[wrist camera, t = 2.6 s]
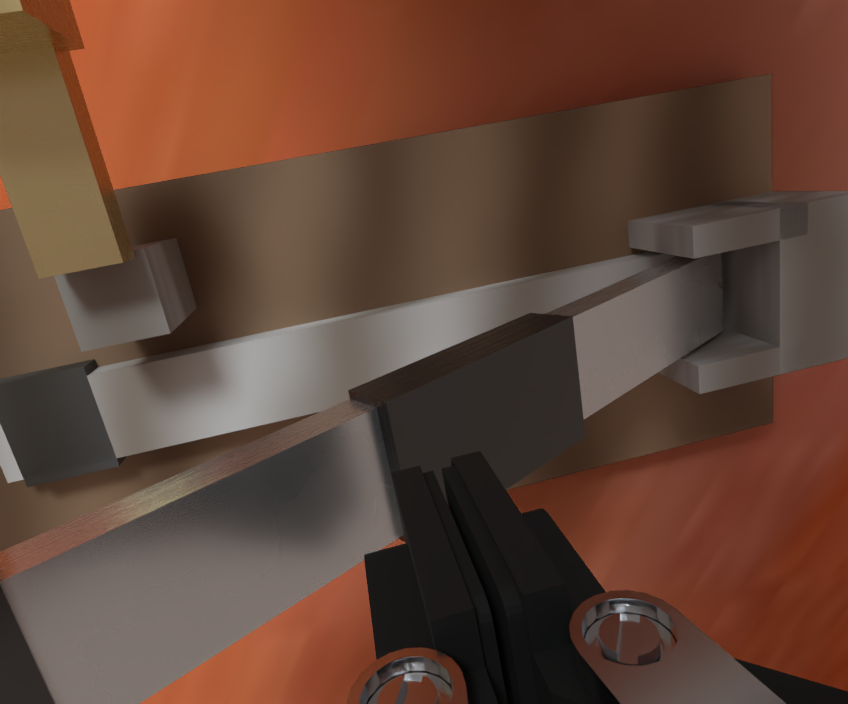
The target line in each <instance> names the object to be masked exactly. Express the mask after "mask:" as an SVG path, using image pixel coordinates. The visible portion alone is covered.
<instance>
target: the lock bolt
mask: <svg viewBox="0 0 848 704" xmlns="http://www.w3.org/2000/svg"><path fill="white" fill-rule="evenodd" d="M77 49H84V45H83V42H82V38H81V35H80V32H79V29H78V26H77V22H76V19H75V16H74V13H73V10H72V6H71V3H70V0H0V176H1V178H2V181H3V184H4V186H5V189H6V192H7V194H8V197H9V200H10V202H11V205H12V208H13V211H14V213H15V216H16V219H17V221H18V224H19V227H20V229H21V232H22V235H23V238H24V240H25V243H26V246H27V248H28V251H29V254H30V256H31V259H32V262H33V265H34V267H35V270H36V273H37V275H38V278H39V279H40V278H45V277H51V276H56V275H61V274H66V273H72V272H77V271H82V270H87V269H93V268H98V267H103V266H108V265H113V264H119V263H124V262H126V261H129V260H132V259H135V256H134V253H133V250H132V247H131V243H130V240H129V237H128V234H127V231H126V228H125V225H124V222H123V218H122V215H121V212H120V209H119V206H118V203H117V200H116V196H115V193H114V190H113V187H112V184H111V181H110V178H109V174H108V171H107V168H106V165H105V162H104V159H103V156H102V153H101V149H100V146H99V143H98V140H97V137H96V134H95V131H94V127H93V124H92V121H91V118H90V115H89V112H88V109H87V106H86V102H85V99H84V96H83V93H82V90H81V87H80V84H79V80H78V77H77V74H76V71H75V68H74V65H73V62H72V59H71V55H70V52H69V51H71V50H77Z"/></svg>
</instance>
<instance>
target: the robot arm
mask: <svg viewBox="0 0 848 704" xmlns="http://www.w3.org/2000/svg"><path fill="white" fill-rule="evenodd" d="M391 475H392V480H393V485H394V490H395V494H396V499H397V504H398V508H399V513H400V518H401V522H402V527H403V531H404V536H405V541H406V544H402V545H399V546H395V547H391V548H387V549H383V550H379V551H375V552H372V553H368V554H364V560H365V568H366V576H367V585H368V593H369V601H370V609H371V617H372V625H373V634H374V642H375V650H376V658H377V660H376V661H374V662H373V663H372V664H371V665H370V666H368V667H367V668H366V669H365V670H364V671H363V672H362V673H361V674H360V675H359V677H358V678H357V680H356V681H355V683H354V684H353V686H352V687H351V690H350V694H349V697H348V700H347V704H848V692H847V691H844V690H840V689H837V688H833V687H830V686H827V685H823V684H820V683H816V682H813V681H809V680H806V679H803V678H799V677H796V676H792V675H789V674H786V673H782V672H779V671H775V670H772V669H769V668H765V667H762V666H758V665H755V664H752V663H748V662H745V661H741V660H738V659H734V658H733V657H732V656H730V655H729V654H728V653H727V652H726V651H725V650H723V649H722V648H721V647H720V646H719V645H718V644H716V643H715V642H714V641H713V640H712V639H711V638H710V637H708V636H707V635H706V634H705V633H704V632H703V631H701V630H700V629H699V628H698V627H697V626H696V625H694V624H693V623H692V622H691V621H690V620H689V619H687V618H686V617H685V616H684V615H683V614H682V613H681V612H679V611H678V610H677V609H676V608H674V607H673V606H671V605H670V604H668V603H667V602H665V601H664V600H662V599H660V598H657V597H655V596H652V595H649V594H647V593H642V592H636V591H630V590H621V591H608V592H605V590H604V589H603V588H602V586H601V585H600V584H599V582H598V581H597V580H596V578H595V577H594V575H593V574H592V573H591V571H590V570H589V569H588V567H587V566H586V565H585V563H584V562H583V560H582V559H581V558H580V556H579V555H578V554H577V552H576V551H575V550H574V548H573V547H572V545H571V544H570V543H569V541H568V540H567V539H566V537H565V536H564V535H563V533H562V532H561V531H560V529H559V528H558V526H557V525H556V524H555V522H554V521H553V520H552V518H551V517H550V516H549V514H548V513H547V512H546V511H545V510H544V509H537V510H533V511H530V512H526V513H522V514H521V513H520V512H519V510H518V508H517V507H516V505H515V504H514V502H513V501H512V499H511V498H510V496H509V494H508V493H507V491H506V490H505V488H504V487H503V485H502V484H501V482H500V481H499V479H498V477H497V476H496V474H495V473H494V471H493V470H492V468H491V467H490V465H489V464H488V462H487V460H486V459H485V457H484V456H483V454H482V453H481V452H480V451H477V452H473V453H469V454H465V455H461V456H457V457H453V458H451V466H449V467H445V468H442V476H443V482H444V487H445V492H446V497H447V502H446V500H445V497H444V495H443V493H442V490H441V488H440V485H439V483H438V481H437V478H436V476H435V474H434V471H429V472H425V473H423V472H422V470H421V467H420V466H416V467H412V468H408V469H404V470H400V471H396V472H391ZM447 503H448V504H447Z"/></svg>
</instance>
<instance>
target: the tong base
mask: <svg viewBox="0 0 848 704" xmlns="http://www.w3.org/2000/svg"><path fill="white" fill-rule="evenodd" d="M114 193H115V196H116V200H117V203H118V206H119V209H120V212H121V215H122V218H123V222H124V225H125V228H126V231H127V234H128V237H129V240H130V243H131V247H132V250H133V253H134V256H135V259H132V260H129V261H126V262H124V263H119V264H113V265H108V266H103V267H98V268H93V269H87V270H82V271H77V272H72V273H66V274H61V275H56V276H51V277H45V278H40V279H39V278H38V275H37V273H36V270H35V267H34V265H33V262H32V259H31V256H30V254H29V251H28V248H27V246H26V243H25V240H24V238H23V235H22V232H21V229H20V227H19V224H18V221H17V219H16V216H15V213H14V211H13V208H9V209H4V210H0V552H1V551H3V550H5V549H8V548H10V547H12V546H14V545H17V544H19V543H21V542H24V541H26V540H28V539H30V538H33V537H35V536H37V535H40V534H42V533H44V532H46V531H49V530H51V529H53V528H56V527H58V526H60V525H63V524H65V523H67V522H69V521H72V520H74V519H76V518H79V517H81V516H83V515H85V514H88V513H90V512H92V511H95V510H97V509H99V508H101V507H104V506H106V505H108V504H111V503H113V502H115V501H117V500H120V499H122V498H124V497H127V496H129V495H131V494H133V493H136V492H138V491H140V490H143V489H145V488H147V487H150V486H152V485H154V484H156V483H159V482H161V481H163V480H166V479H168V478H170V477H172V476H175V475H177V474H179V473H182V472H184V471H186V470H188V469H191V468H193V467H195V466H198V465H200V464H202V463H204V462H207V461H209V460H211V459H214V458H216V457H218V456H220V455H223V454H225V453H227V452H230V451H232V450H234V449H237V448H239V447H241V446H243V445H246V444H248V443H250V442H253V441H255V440H257V439H259V438H262V437H264V436H266V435H269V434H271V433H273V432H275V431H278V430H280V429H282V428H285V427H287V426H289V425H291V424H294V423H296V422H298V421H301V420H303V419H305V418H307V417H310V416H312V415H314V414H317V413H319V412H321V411H324V410H326V409H328V408H330V407H333V406H335V405H337V404H340V403H342V402H344V401H346V400H349V399H350V397H349V393H348V390H350V389H352V388H355V387H357V386H359V385H362V384H364V383H366V382H369V381H371V380H374V379H376V378H378V377H381V376H383V375H385V374H388V373H390V372H392V371H395V370H397V369H399V368H402V367H404V366H406V365H409V364H411V363H413V362H416V361H418V360H420V359H423V358H425V357H428V356H430V355H432V354H435V353H437V352H439V351H442V350H444V349H446V348H449V347H451V346H453V345H456V344H458V343H460V342H463V341H465V340H467V339H470V338H472V337H475V336H477V335H479V334H482V333H484V332H486V331H489V330H491V329H493V328H496V327H498V326H500V325H503V324H505V323H507V322H510V321H512V320H514V319H517V318H519V317H522V316H524V315H526V314H529V313H539V314H546V313H548V312H550V311H552V310H555V309H557V308H559V307H562V306H564V305H566V304H568V303H571V302H573V301H575V300H578V299H580V298H582V297H585V296H587V295H589V294H591V293H594V292H596V291H598V290H601V289H603V288H605V287H607V286H610V285H612V284H614V283H617V282H619V281H621V280H623V279H626V278H628V277H630V276H633V275H635V274H637V273H639V272H642V271H644V270H646V269H649V268H651V267H653V266H656V265H658V264H660V263H662V262H665V261H667V260H669V259H672V258H674V257H676V256H681V257H686V258H692V259H695V258H700V257H704V256H709V255H714V254H718V253H722V266H723V301H724V330H723V331H722V332H720V333H719V334H717V335H715V336H714V337H712V338H711V339H709V340H708V341H706V342H705V343H703V344H701V345H700V346H698V347H697V348H695V349H694V350H692V351H690V352H689V353H687V354H686V355H684V356H683V357H681V358H679V359H678V360H676V361H675V362H673V363H672V364H670V365H669V366H667V367H665V368H664V369H662V370H661V371H659V372H658V373H656V374H654V375H653V376H651V377H650V378H648V379H647V380H645V381H643V382H642V383H640V384H639V385H637V386H636V387H634V388H633V389H631V390H629V391H628V392H626V393H625V394H623V395H622V396H620V397H618V398H617V399H615V400H614V401H612V402H611V403H609V404H607V405H606V406H604V407H603V408H601V409H600V410H598V411H597V412H595V413H593V414H592V415H590V416H589V417H587V418H586V419H584V428H585V437H584V438H583V439H581V440H580V441H578V442H577V443H575V444H574V445H572V446H571V447H569V448H568V449H566V450H565V451H563V452H562V453H560V454H559V455H557V456H556V457H554V458H553V459H551V460H550V461H548V462H547V463H545V464H544V465H542V466H541V467H539V468H538V469H536V470H535V471H533V472H532V473H530V474H529V475H527V476H526V477H524V478H523V479H521V480H520V481H518V482H517V483H515V484H514V485H512V486H511V487H509V488H508V489H506V490H509V489H513V488H517V487H521V486H525V485H529V484H533V483H537V482H541V481H545V480H549V479H553V478H557V477H561V476H565V475H569V474H572V473H576V472H580V471H584V470H588V469H592V468H596V467H600V466H604V465H608V464H612V463H616V462H620V461H624V460H628V459H632V458H635V457H639V456H643V455H647V454H651V453H655V452H659V451H663V450H667V449H671V448H675V447H679V446H683V445H687V444H691V443H695V442H698V441H702V440H706V439H710V438H714V437H718V436H722V435H726V434H730V433H734V432H738V431H742V430H746V429H750V428H754V427H757V426H761V425H765V424H769V423H773V376H776V375H780V374H784V373H789V372H793V371H797V370H801V369H805V368H809V367H813V366H817V365H821V364H826V363H830V362H834V361H838V360H842V359H846V358H848V191H772V74H767V75H761V76H756V77H750V78H744V79H739V80H733V81H727V82H722V83H716V84H711V85H705V86H699V87H694V88H688V89H682V90H677V91H671V92H665V93H660V94H654V95H648V96H643V97H637V98H631V99H626V100H620V101H614V102H609V103H603V104H597V105H592V106H586V107H580V108H575V109H569V110H564V111H558V112H552V113H547V114H541V115H535V116H530V117H524V118H518V119H513V120H507V121H501V122H496V123H490V124H484V125H479V126H473V127H467V128H462V129H456V130H450V131H445V132H439V133H433V134H428V135H422V136H417V137H411V138H405V139H400V140H394V141H388V142H383V143H377V144H371V145H366V146H360V147H354V148H349V149H343V150H337V151H332V152H326V153H320V154H315V155H309V156H303V157H298V158H292V159H287V160H281V161H275V162H270V163H264V164H258V165H253V166H247V167H241V168H236V169H230V170H224V171H219V172H213V173H207V174H202V175H196V176H190V177H185V178H179V179H173V180H168V181H162V182H156V183H151V184H145V185H140V186H134V187H128V188H123V189H117V190H114Z"/></svg>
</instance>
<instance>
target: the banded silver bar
mask: <svg viewBox="0 0 848 704" xmlns="http://www.w3.org/2000/svg"><path fill="white" fill-rule="evenodd" d="M723 330H724V301H723V266H722V253H718V254H714V255H709V256H704V257H700V258H695V259H692V258H686V257H681V256H676V257H674V258H672V259H669V260H667V261H665V262H662V263H660V264H658V265H656V266H653V267H651V268H649V269H646V270H644V271H642V272H639V273H637V274H635V275H633V276H630V277H628V278H626V279H623V280H621V281H619V282H617V283H614V284H612V285H610V286H607V287H605V288H603V289H601V290H598V291H596V292H594V293H591V294H589V295H587V296H585V297H582V298H580V299H578V300H575V301H573V302H571V303H568V304H566V305H564V306H562V307H559V308H557V309H555V310H552V311H550V312H548V313H546V314H539V313H529V314H526V315H524V316H522V317H519V318H517V319H514V320H512V321H510V322H507V323H505V324H503V325H500V326H498V327H496V328H493V329H491V330H489V331H486V332H484V333H482V334H479V335H477V336H475V337H472V338H470V339H467V340H465V341H463V342H460V343H458V344H456V345H453V346H451V347H449V348H446V349H444V350H442V351H439V352H437V353H435V354H432V355H430V356H428V357H425V358H423V359H420V360H418V361H416V362H413V363H411V364H409V365H406V366H404V367H402V368H399V369H397V370H395V371H392V372H390V373H388V374H385V375H383V376H381V377H378V378H376V379H374V380H371V381H369V382H366V383H364V384H362V385H359V386H357V387H355V388H352V389H350V390H348V393H349V397H350V399H349V400H346V401H344V402H342V403H340V404H337V405H335V406H333V407H330V408H328V409H326V410H324V411H321V412H319V413H317V414H314V415H312V416H310V417H307V418H305V419H303V420H301V421H298V422H296V423H294V424H291V425H289V426H287V427H285V428H282V429H280V430H278V431H275V432H273V433H271V434H269V435H266V436H264V437H262V438H259V439H257V440H255V441H253V442H250V443H248V444H246V445H243V446H241V447H239V448H237V449H234V450H232V451H230V452H227V453H225V454H223V455H220V456H218V457H216V458H214V459H211V460H209V461H207V462H204V463H202V464H200V465H198V466H195V467H193V468H191V469H188V470H186V471H184V472H182V473H179V474H177V475H175V476H172V477H170V478H168V479H166V480H163V481H161V482H159V483H156V484H154V485H152V486H150V487H147V488H145V489H143V490H140V491H138V492H136V493H133V494H131V495H129V496H127V497H124V498H122V499H120V500H117V501H115V502H113V503H111V504H108V505H106V506H104V507H101V508H99V509H97V510H95V511H92V512H90V513H88V514H85V515H83V516H81V517H79V518H76V519H74V520H72V521H69V522H67V523H65V524H63V525H60V526H58V527H56V528H53V529H51V530H49V531H46V532H44V533H42V534H40V535H37V536H35V537H33V538H30V539H28V540H26V541H24V542H21V543H19V544H17V545H14V546H12V547H10V548H8V549H5V550H3V551H1V552H0V704H139V703H141V702H142V701H144V700H146V699H147V698H149V697H150V696H152V695H153V694H155V693H157V692H158V691H160V690H161V689H163V688H164V687H166V686H168V685H169V684H171V683H172V682H174V681H175V680H177V679H178V678H180V677H182V676H183V675H185V674H186V673H188V672H189V671H191V670H193V669H194V668H196V667H197V666H199V665H200V664H202V663H204V662H205V661H207V660H208V659H210V658H211V657H213V656H214V655H216V654H218V653H219V652H221V651H222V650H224V649H225V648H227V647H229V646H230V645H232V644H233V643H235V642H236V641H238V640H240V639H241V638H243V637H244V636H246V635H247V634H249V633H250V632H252V631H254V630H255V629H257V628H258V627H260V626H261V625H263V624H265V623H266V622H268V621H269V620H271V619H272V618H274V617H276V616H277V615H279V614H280V613H282V612H283V611H285V610H287V609H288V608H290V607H291V606H293V605H294V604H296V603H297V602H299V601H301V600H302V599H304V598H305V597H307V596H308V595H310V594H312V593H313V592H315V591H316V590H318V589H319V588H321V587H323V586H324V585H326V584H327V583H329V582H330V581H332V580H333V579H335V578H337V577H338V576H340V575H341V574H343V573H344V572H346V571H348V570H349V569H351V568H352V567H354V566H355V565H357V564H359V563H360V562H362V561H363V560H364V554H368V553H372V552H375V551H379V550H380V549H382V548H384V547H385V546H387V545H388V544H390V543H391V542H393V541H395V540H396V539H398V538H399V539H401V540H402V541H404V542H406V541H405V536H404V531H403V527H402V522H401V518H400V513H399V508H398V504H397V499H396V494H395V490H394V485H393V480H392V475H391V472H396V471H400V470H404V469H408V468H412V467H416V466H420V467H421V470H422V472H423V473H425V472H429V471H434V474H435V476H436V478H437V481H438V483H439V485H440V488H441V490H442V493H443V495H444V497H445V500H446V502H447V497H446V492H445V487H444V482H443V476H442V468H445V467H449V466H451V458H453V457H457V456H461V455H465V454H469V453H473V452H477V451H480V452H481V453H482V454H483V456H484V457H485V459H486V460H487V462H488V464H489V465H490V467H491V468H492V470H493V471H494V473H495V474H496V476H497V477H498V479H499V481H500V482H501V484H502V485H503V487H504V488H505V490H506V489H508V488H509V487H511V486H512V485H514V484H515V483H517V482H518V481H520V480H521V479H523V478H524V477H526V476H527V475H529V474H530V473H532V472H533V471H535V470H536V469H538V468H539V467H541V466H542V465H544V464H545V463H547V462H548V461H550V460H551V459H553V458H554V457H556V456H557V455H559V454H560V453H562V452H563V451H565V450H566V449H568V448H569V447H571V446H572V445H574V444H575V443H577V442H578V441H580V440H581V439H583V438H584V437H585V428H584V419H586V418H587V417H589V416H590V415H592V414H593V413H595V412H597V411H598V410H600V409H601V408H603V407H604V406H606V405H607V404H609V403H611V402H612V401H614V400H615V399H617V398H618V397H620V396H622V395H623V394H625V393H626V392H628V391H629V390H631V389H633V388H634V387H636V386H637V385H639V384H640V383H642V382H643V381H645V380H647V379H648V378H650V377H651V376H653V375H654V374H656V373H658V372H659V371H661V370H662V369H664V368H665V367H667V366H669V365H670V364H672V363H673V362H675V361H676V360H678V359H679V358H681V357H683V356H684V355H686V354H687V353H689V352H690V351H692V350H694V349H695V348H697V347H698V346H700V345H701V344H703V343H705V342H706V341H708V340H709V339H711V338H712V337H714V336H715V335H717V334H719V333H720V332H722V331H723ZM447 504H448V503H447Z"/></svg>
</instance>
